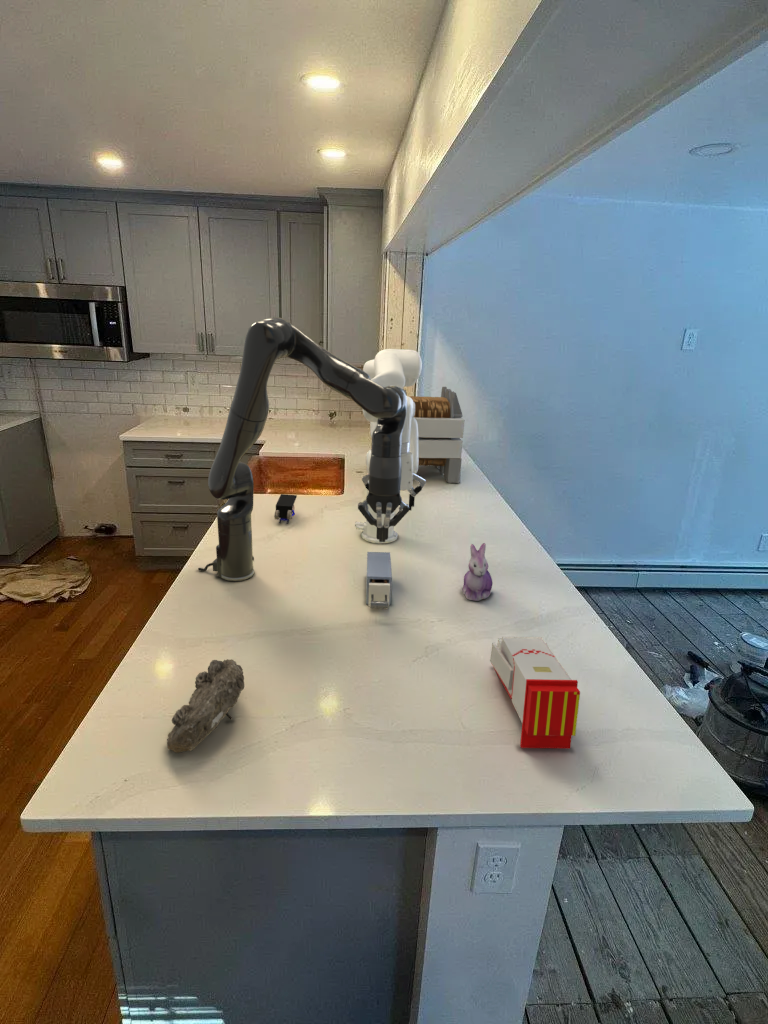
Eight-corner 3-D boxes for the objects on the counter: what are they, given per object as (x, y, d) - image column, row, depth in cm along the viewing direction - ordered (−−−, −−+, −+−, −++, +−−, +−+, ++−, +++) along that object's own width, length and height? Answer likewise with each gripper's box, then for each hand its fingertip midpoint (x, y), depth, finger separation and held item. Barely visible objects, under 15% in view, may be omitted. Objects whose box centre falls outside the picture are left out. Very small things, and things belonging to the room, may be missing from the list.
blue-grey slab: (390, 604, 152) (392, 577, 149) (366, 604, 152) (367, 576, 149) (388, 578, 167) (390, 552, 164) (366, 577, 167) (367, 551, 164)
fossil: (192, 660, 117) (244, 628, 112) (224, 691, 120) (276, 661, 115) (142, 746, 98) (202, 712, 93) (182, 779, 101) (242, 748, 96)
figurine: (473, 605, 153) (479, 554, 148) (452, 588, 162) (457, 540, 157) (501, 598, 157) (507, 549, 152) (479, 583, 166) (484, 535, 161)
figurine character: (292, 529, 203) (297, 511, 216) (292, 510, 199) (297, 492, 213) (273, 529, 202) (280, 510, 216) (272, 510, 199) (279, 492, 213)
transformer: (382, 463, 289) (386, 382, 275) (445, 464, 293) (451, 384, 279) (390, 482, 257) (394, 392, 243) (460, 483, 261) (468, 394, 247)
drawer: (389, 618, 143) (390, 596, 141) (368, 618, 143) (369, 595, 141) (387, 581, 163) (388, 561, 161) (368, 581, 163) (369, 560, 160)
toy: (539, 620, 128) (589, 687, 99) (533, 674, 131) (581, 755, 102) (485, 619, 128) (521, 686, 99) (481, 673, 131) (514, 755, 101)
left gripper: (356, 476, 130) (354, 546, 135) (414, 478, 130) (409, 547, 136) (357, 467, 137) (355, 534, 142) (412, 469, 137) (408, 535, 143)
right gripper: (362, 448, 147) (360, 511, 152) (428, 452, 147) (424, 514, 152) (363, 442, 154) (362, 502, 160) (427, 445, 154) (423, 505, 159)
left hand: (382, 540), depth 139 cm, fingers closed
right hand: (392, 508), depth 156 cm, fingers open, 9 cm apart
